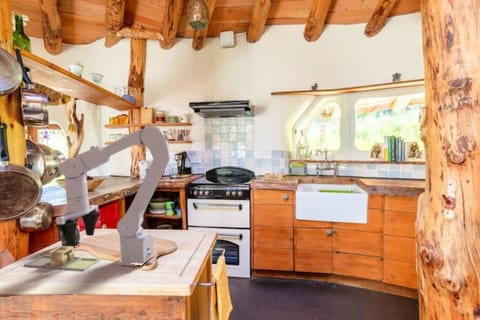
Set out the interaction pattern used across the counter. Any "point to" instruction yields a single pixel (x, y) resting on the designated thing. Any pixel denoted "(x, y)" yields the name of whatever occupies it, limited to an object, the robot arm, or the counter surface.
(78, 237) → the supplement bottle
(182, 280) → the counter surface
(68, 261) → the letter block
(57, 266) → the middle dish
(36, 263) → the far dish
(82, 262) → the green dish
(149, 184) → the robot arm
